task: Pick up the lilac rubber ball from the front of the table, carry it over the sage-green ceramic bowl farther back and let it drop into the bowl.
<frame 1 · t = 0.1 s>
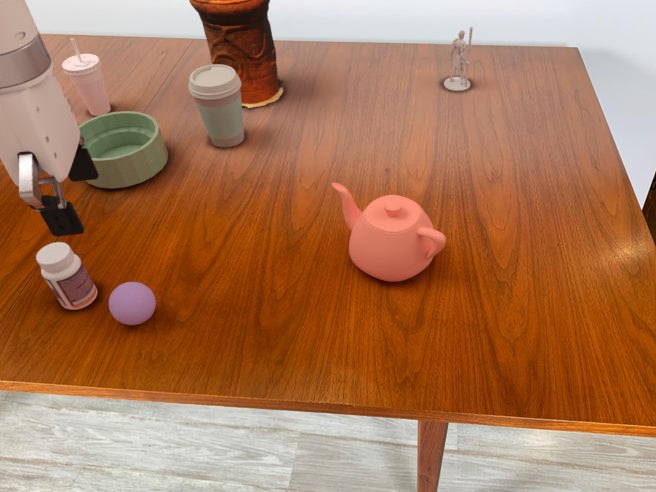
hand: (78, 204, 66), 16 cm above the table, tool pointing down, fingers open, 9 cm apart
smoothie: (100, 111, 110), on the table
pill bottle: (80, 298, 78), on the table
figurine: (456, 85, 116), on the table
teapot: (387, 254, 84), on the table
coffee cup: (228, 139, 104), on the table
vessel: (249, 92, 115), on the table
ball: (132, 303, 74), point 3 cm above the table
bowl: (125, 165, 98), on the table
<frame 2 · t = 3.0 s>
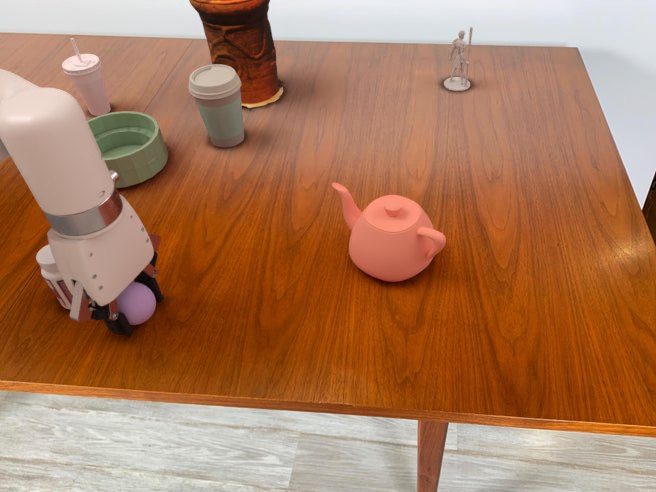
hand: (137, 313, 75), 1 cm above the table, tool pointing down, fingers closed on ball, 5 cm apart
ball: (132, 303, 74), point 3 cm above the table, touching gripper
everything else where it was.
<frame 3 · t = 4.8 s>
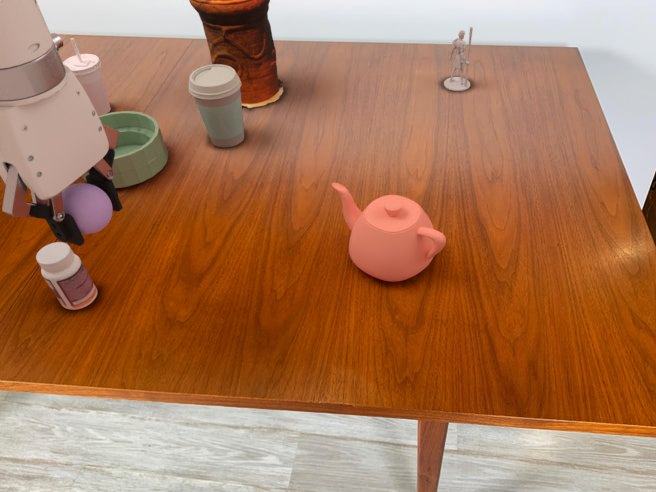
hand: (91, 222, 65), 16 cm above the table, tool pointing down, fingers closed on ball, 5 cm apart
ball: (84, 208, 63), point 18 cm above the table, touching gripper
everything else where it was.
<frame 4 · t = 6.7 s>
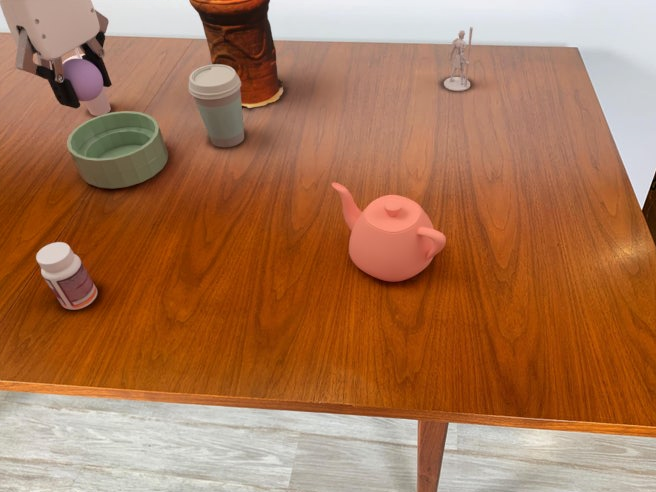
hand: (86, 93, 80), 17 cm above the table, tool pointing down, fingers closed on ball, 5 cm apart
ball: (80, 80, 79), point 19 cm above the table, touching gripper
everything else where it was.
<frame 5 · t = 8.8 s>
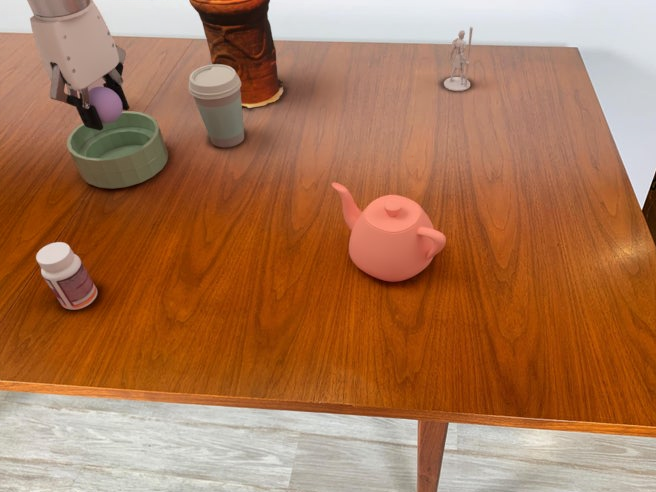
hand: (107, 116, 92), 9 cm above the table, tool pointing down, fingers closed on ball, 5 cm apart
ball: (103, 105, 90), point 11 cm above the table, touching gripper
everything else where it was.
when the fingers open (4 cm above the table, at t = 10.6 s): ball drops 3 cm, resting on bowl.
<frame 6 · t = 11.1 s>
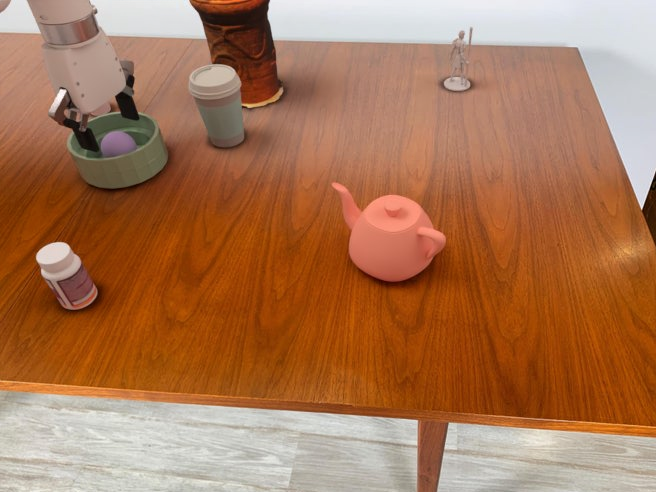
hand: (111, 133, 94), 6 cm above the table, tool pointing down, fingers open, 9 cm apart
ball: (119, 148, 96), point 3 cm above the table, touching bowl
everything else where it was.
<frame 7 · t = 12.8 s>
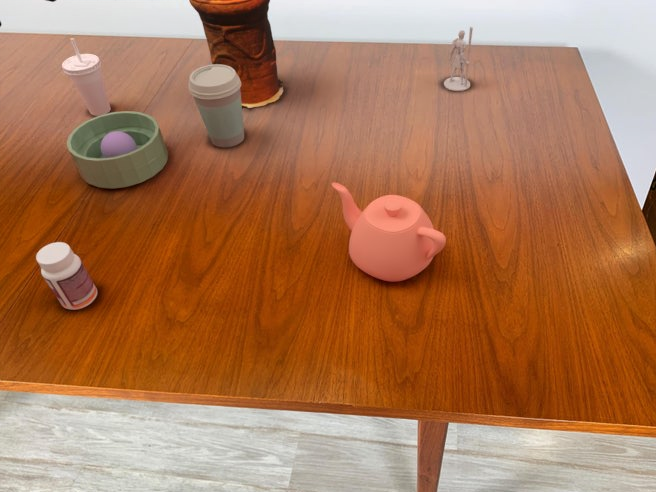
hand: (20, 12, 81), 25 cm above the table, tool pointing down, fingers open, 9 cm apart
nothing on the table moved.
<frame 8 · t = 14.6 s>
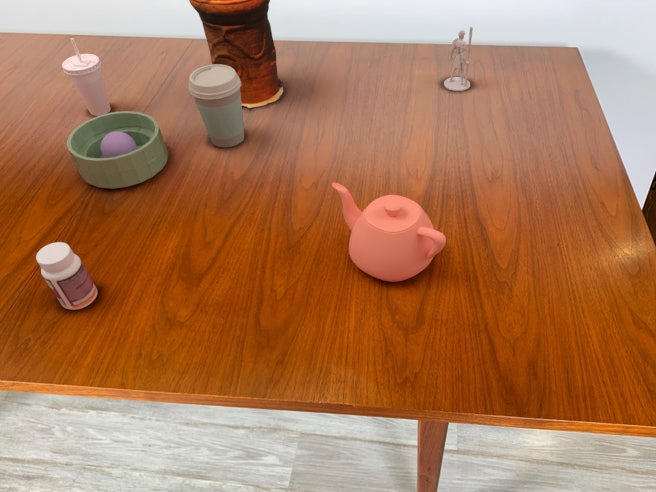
nothing on the table moved.
at the end: ball inside the target area in the bowl (0.1 cm from its centre), point 3.3 cm above the bowl's base; the gripper is holding nothing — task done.
